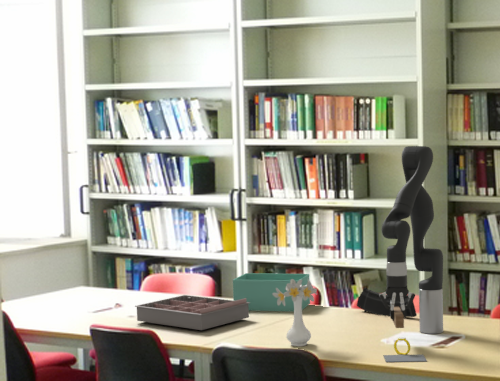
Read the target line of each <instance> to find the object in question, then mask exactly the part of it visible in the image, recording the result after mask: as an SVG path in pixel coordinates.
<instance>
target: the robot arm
mask: <svg viewBox="0 0 500 381" xmlns="http://www.w3.org/2000/svg"><path fill="white" fill-rule="evenodd" d="M433 162H434V153H433V150H432V148H431V147H429V146H426V145H425V146H424V145H422V146H421V145H409V146H408V145H407V146H405V147H404V148H403V149H402V152H401V163H402V164H401V165H402V169H403V174H404V178H405V184H404V185H403V186H402V187H401V188H400V190H399V191H398V193H397V194H396V197H395V199H394V203H393V206H392V208H391V210H390V211H389V212H388V215H387V216H386V217H385V219H384V221H383V223H382V225H381V234H382V236H383V237H384V238H385V239H388V240H397V241H396V243H395V244H393V245H389V246H387V248H386V269H385V271H386V288H385V291H384V292H382V293H380V292H379V293H380V294H379V296H380V298H381V300H382V302H383V304H384V306H385V308H386V309H389V310H390V316H389V318H390V319H391V321H392V322H393V321H394V304H395V301H400V305H401V312H402V313H403V315H404V320H405V318H406V317H405V310H406V309H409V308H410V306H411V304H412V302H413V303H414V299H415V298H416V294H415V293H414V292H411V291H409V289H408V267H407V247H408V243H409V239H410V235H411V232H412V247H413V248H412V249H413V264H414V268H415V270H417V271H419V272H430V273H431V276H430V277H428V278H426V279H423V280H420V281H419V282H418V305H419V306H418V307H419V310H418V311H419V314H418V315H419V316H418V317H419V332H420V333H422V334H431V335H432V334H434V335H435V334H441V333H443V332H444V303H443V302H444V300H443V298H444V296H443V293H444V292H443V282H444V280H443V279H444V275H443V274H444V254H443V251H442V250H441V248H428V247H427V248H425V245H424V243H425V242H424V240H425V236H426V235H427V232H428V230H429V229H430V228H431V225H432V224H433V221H434V217H435V212H434V204H433V203H434V202H433V199H432V197H431V196H430V194H429V193H428V191H427V190H426V188H425V187H424V186H423V184H424V182H425V180H426V178H427V176H428V174H429V172H430V170H431V168H432V164H433ZM408 218H410V223H409V222H408V221H406V219H408ZM410 224H411V227H410ZM386 295H388V297H389V298H390V299H391V300H390V306H389V305H388V304H387V302H386V300H385V298H386ZM407 295H408V297H409V300H408V302H407V304H406V305H405V306H404V299H405V297H406V296H407Z"/></svg>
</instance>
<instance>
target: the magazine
mask: <svg viewBox="0 0 500 381" xmlns="http://www.w3.org/2000/svg"><path fill="white" fill-rule="evenodd" d="M379 294H380V292H376V291H374V290H371V289H368V288H367V287H363V289H362V292H360V295H359V296H358V298H357V302H356V306H357V308H359V309H360V310H362V311H363V313H366V312H368V313H372V314H375V315H378V316H379V315H380V316H385V317H390V310H389V309H386V308H385V306H384V304H383V302H382V300H381V298H380V296H379ZM385 300H386V302H387V304H388V305H389V306H390V300H391V299H390V298H389V297H388V295H387V294H386V298H385ZM408 300H409V297H408V294H407V296H406V297H405V299H404V306H405V305H406V304H407V302H408ZM394 307H400V309H401V305H400V301H395V304H394ZM417 315H418V314H417V310H416V306H415V304H414V301H413V302H412V304H411V306H410V308H409V309H406V310H405V318H406V317H407V318H410V317H411V318H415V317H417Z"/></svg>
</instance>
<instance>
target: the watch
mask: <svg viewBox="0 0 500 381" xmlns="http://www.w3.org/2000/svg"><path fill="white" fill-rule="evenodd" d="M399 341H400V342H401V341H404V342H405V343H406V345H407V351H406V352H400V351H399V350H398V347H397V344H398V342H399ZM393 349H394V351H395V352H396V355H409V353H410V351H411V349H412V348H411V343H410V341H409V340H408V339H407V338H406V337H405V336H404V337H403V336H401V337H397V339H396V340H395V341H394V343H393Z"/></svg>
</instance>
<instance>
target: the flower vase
mask: <svg viewBox="0 0 500 381" xmlns="http://www.w3.org/2000/svg"><path fill="white" fill-rule="evenodd" d="M309 280H310V278H309V279H308V283H307V285H304V286H302V284H301V283H302V280H299V281H298V282H297V284H296V282H295V280H294V279H291V280H290V283H288V284H287V286H286V288H285V290H287V292H285V293H284V294H283V293H282V292H280V290H279V289H278V288H276V291H277V293H272V294H273V296H274V297H276V298H278V300H277V305H278V306H279V305H280V304H281V302H282V304H283V305H284V306H285V297H288V296H292V301H293V302H294V312H293V323H292V325H291V327H290V329H289V330H288V331H287V333H286V339H287V341H289V342H290V345H291V346H292V347H305V346H307V345H308V342H310V340H311V338H312V334H311V332H310V330H309V328H307V327H306V326H305V323H304V320H303V310H302V299H304V301H306V300H307V298H309V299H310V302H315V298H314V295H313V294H315V295H318V292H317V288H315V287H313V285H312V282H311V280H310V281H309ZM305 287H306V288H305ZM301 290H302V291H301ZM303 295H304V297H303Z"/></svg>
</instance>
